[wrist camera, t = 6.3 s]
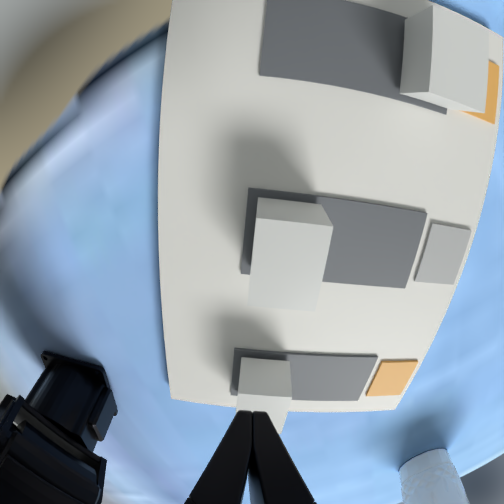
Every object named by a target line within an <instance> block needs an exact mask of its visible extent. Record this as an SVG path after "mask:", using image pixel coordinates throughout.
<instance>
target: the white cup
mask: <svg viewBox="0 0 504 504" xmlns="http://www.w3.org/2000/svg"><path fill="white" fill-rule="evenodd" d="M399 476H400V482H401V486H402V487H401V492H402V499H403V504H470V503H469V501H468V498H467V495H466V493H465V490H464V487H463V485H462V482H461V480H460V477H459V475H458V473H457V471H456V468H455V466H454V465H453V463H452V461H451V458H450V456H449V454H448V452H447V451H446V450H445V449H434V450H431V451H427V452H425V453H422V454H420V455H418V456H416V457H414V458H412V459H410V460H409V461H407V462H406V463H405V464H404V465H403V466H402V467H401V468H400V470H399Z"/></svg>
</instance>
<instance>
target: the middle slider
mask: <svg viewBox="0 0 504 504" xmlns="http://www.w3.org/2000/svg"><path fill="white" fill-rule="evenodd" d="M332 231H333V225H332V223H331V221H330V219H329V218H328V216H327V214H326V212H325V210H324V209H323V207H322V205H321V204H314V203H306V202H297V201H289V200H280V199H271V198H261V197H258V203H257V213H256V222H255V232H254V242H253V251H252V261H251V271H250V281H249V291H248V302H247V306H256V307H267V308H278V309H289V310H301V311H314V312H315V309H316V305H317V301H318V297H319V292H320V288H321V284H322V279H323V275H324V270H325V265H326V261H327V256H328V251H329V246H330V241H331V236H332Z"/></svg>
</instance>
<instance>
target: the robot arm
mask: <svg viewBox="0 0 504 504" xmlns="http://www.w3.org/2000/svg"><path fill="white" fill-rule="evenodd" d="M41 358H42V361H43V363H44V365H45V370H44V371H43V373H42V374H41V376H40V377H39V379H38V380H37V382H36V383H35V385H34V386H33V388H32V390H31V391H30V393H29V394H28V396H27V398H26V399H24V398H23V397H22V396H21V395H19V396H18V397H17V398H15V397H12V396H10V395H8V394H7V395H6V396H5V397H4V399H3V400H2V402H1V403H0V504H101V502H102V497H103V487H104V479H105V471H106V463H107V460H106V459H104V458H103V457H99V456H98V455H96V454H95V453H93V451H94V448H95V446H96V443H97V441H103V440H104V438H105V435H106V433H107V430H108V428H109V425H110V423H111V420H112V418H113V416H116V415H117V412H118V410H117V405H116V402H115V399H114V396H113V393H112V390H111V389H110V386H109V383H108V379H107V376H106V373H105V370H104V369H103V368H102V367H100V366H97V365H93V364H89V363H85V362H82V361H78V360H74V359H71V358H67V357H64V356H60V355H57V354H53V353H50V352H47V351H43V352H42V354H41ZM13 421H14V422H16V423H17V424H18V426H16V425H15V424H13ZM247 474H248V481H249V491H250V501H251V504H317V503H316V502H314V498H313V496H312V495H311V493H310V491H309V489H308V488H307V486H306V484H305V482H304V480H303V479H302V477H301V475H300V473H299V471H298V470H297V468H296V466H295V464H294V462H293V461H292V459H291V457H290V455H289V453H288V451H287V449H286V448H285V446H284V444H283V442H282V440H281V438H280V436H279V434H278V432H277V430H276V429H275V427H274V425H273V423H272V421H271V419H270V417H269V415H268V413H267V412H265V411H253V413H252V412H251V411H248V410H239V411H238V412H237V413H236V415H235V417H234V419H233V421H232V422H231V424H230V426H229V428H228V430H227V431H226V433H225V435H224V437H223V439H222V440H221V442H220V444H219V446H218V447H217V449H216V451H215V453H214V454H213V456H212V458H211V460H210V461H209V463H208V465H207V467H206V468H205V470H204V472H203V473H202V475H201V477H200V479H199V480H198V482H197V484H196V485H195V487H194V489H193V490H192V492H191V494H190V495H189V497H190V498H187V500H186V501H185V503H184V504H242V500H243V495H244V490H245V485H246V480H247Z"/></svg>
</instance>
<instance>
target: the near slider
mask: <svg viewBox="0 0 504 504" xmlns="http://www.w3.org/2000/svg"><path fill="white" fill-rule="evenodd" d="M488 63H489V31H487V30H485V29H483V28H481V27H479V26H478V25H476V24H474V23H472V22H470V21H468V20H466V19H464V18H462V17H459V16H457V15H455V14H453V13H451V12H449V11H446V10H444V9H442V8H439V7H437V6H435V5H432V6H430V7H428V8H426V9H424V10H422V11H420V12H418V13H416V14H415V15H413V16H411V17H409V18H407V19H405V30H404V48H403V62H402V74H401V84H400V94H403V95H406V96H410V97H413V98H417V99H420V100H423V101H426V102H429V103H432V104H436V105H438V106H441V107H444V108H447V109H450V110H460V111H469V112H478V113H485V106H486V96H487V83H488Z"/></svg>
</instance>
